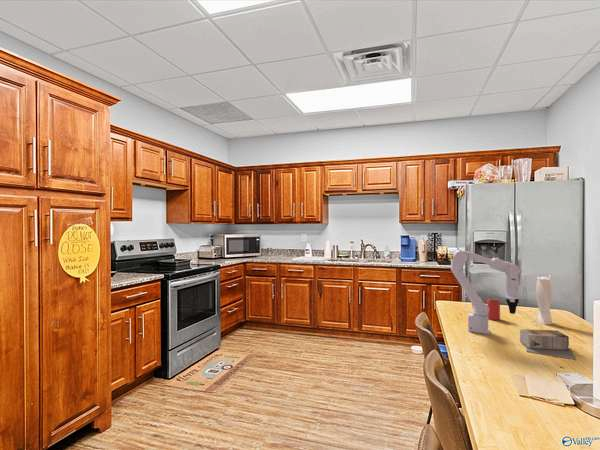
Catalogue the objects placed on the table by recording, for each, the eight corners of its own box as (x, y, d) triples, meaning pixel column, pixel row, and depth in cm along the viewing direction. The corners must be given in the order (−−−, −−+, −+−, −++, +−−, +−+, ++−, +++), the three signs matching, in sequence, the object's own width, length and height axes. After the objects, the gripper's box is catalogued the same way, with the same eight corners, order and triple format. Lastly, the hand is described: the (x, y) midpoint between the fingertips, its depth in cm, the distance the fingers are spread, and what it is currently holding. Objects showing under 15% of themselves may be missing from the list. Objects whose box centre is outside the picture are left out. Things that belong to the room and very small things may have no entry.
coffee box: (519, 328, 163) (557, 330, 160) (519, 341, 163) (557, 343, 160) (529, 334, 154) (569, 336, 151) (529, 348, 154) (569, 350, 151)
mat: (526, 351, 151) (526, 351, 151) (525, 342, 163) (525, 341, 163) (576, 359, 142) (576, 359, 142) (570, 349, 154) (570, 348, 154)
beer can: (498, 318, 205) (498, 297, 205) (501, 320, 199) (501, 300, 199) (486, 317, 207) (486, 297, 207) (488, 320, 201) (488, 299, 201)
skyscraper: (557, 325, 191) (557, 274, 191) (546, 326, 189) (546, 275, 189) (542, 320, 199) (542, 272, 199) (532, 322, 197) (532, 273, 197)
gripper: (521, 290, 168) (522, 317, 168) (520, 285, 180) (521, 311, 180) (504, 288, 171) (505, 316, 171) (505, 284, 184) (505, 309, 184)
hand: (512, 313), depth 176 cm, fingers closed
